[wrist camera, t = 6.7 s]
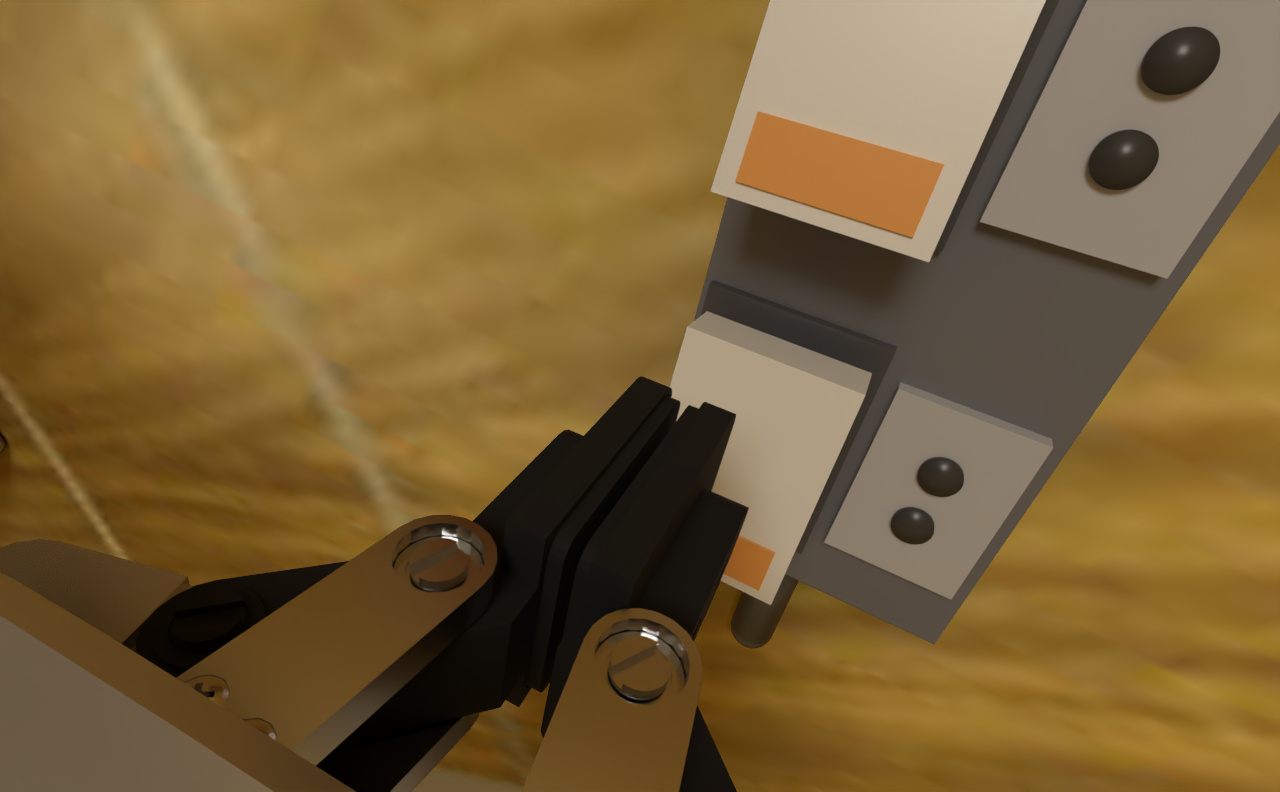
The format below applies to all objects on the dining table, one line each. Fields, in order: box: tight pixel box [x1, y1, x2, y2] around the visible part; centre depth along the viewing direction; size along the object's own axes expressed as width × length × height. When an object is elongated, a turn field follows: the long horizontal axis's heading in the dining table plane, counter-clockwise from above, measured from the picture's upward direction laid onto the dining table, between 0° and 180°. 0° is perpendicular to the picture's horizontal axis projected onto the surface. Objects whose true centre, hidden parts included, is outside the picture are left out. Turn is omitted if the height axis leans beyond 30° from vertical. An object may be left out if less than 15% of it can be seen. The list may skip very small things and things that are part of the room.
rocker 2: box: [711, 0, 1046, 262], centre depth 11 cm, size 6×4×2 cm, turn 168°
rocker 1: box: [670, 311, 872, 605], centre depth 16 cm, size 6×4×2 cm, turn 168°
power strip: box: [694, 0, 1280, 648], centre depth 18 cm, size 25×9×5 cm, turn 168°
